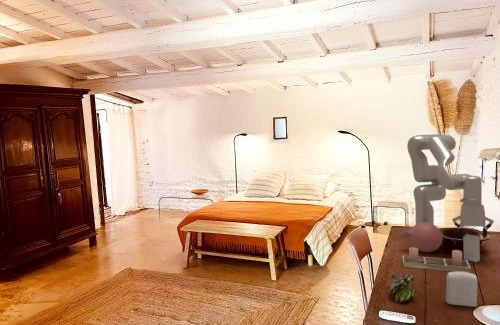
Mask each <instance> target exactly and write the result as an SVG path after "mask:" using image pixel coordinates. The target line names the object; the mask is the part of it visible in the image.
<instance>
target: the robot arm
mask: <svg viewBox="0 0 500 325" xmlns="http://www.w3.org/2000/svg"><path fill="white" fill-rule="evenodd" d="M456 144H457V142H456V139H455V138H454V137H453V136H452V135H447V134H435V133H434V134H433V133H432V134H419V135H414V136H412V137H409V139H408V141H407V152H408V155H409V157H410V162H411V168H412V173H413V174H412V175H413V178H414V181H415V182H416V183H427V184H420V185H417V186H415V187H414V188H413V198H414V205H415V206H414V207H415V208H414V210H415V225H416V224H418V223H422V222H428V223H431V224H433V225H435V224H434V223H435V221H434V220H435V218H434V217H435V216H434V215H435V213H434V211H435V210H434V206H433V205H432V203H431V202H434V201H441V200H444V199H445V198H446V197H447V196H446V195H447V190H449V191H455V190H456V191H457V190H463V192H462V193H463V195H462V196H463V197H462V198H460V199H459V203H462V204H461V206H460V214H459V215H458V216H457V217H454V218H452V219H451V220H452V222H453V224H454V226H455V227H456V228H457V229H458V235H459V237H460V238H463V236H464V235H463V227H482V238H484V239H486V238H487V236H488V230H489V229H490V228H492V226H493V225H494V222H495V221H494V220H493V219H491V218H489V217H487V216H486V211H485V206H484V204H483V203H482V200H483V198H482V189H483V188H482V185H483V184H482V183H483V182H482V178H481V177H480V176H477V175H472V174H468V173H460V174H459V173H458V174H457V173H455V174H450V173H449V171H448V169H447V168H446V167H448V166H449V165H450V164H452V163H453V162H454V161H455V155H454V153H453V152H452V150H454V149H455V148H456ZM423 150H426V151H427V150H429V151H430V152H431V155H432V156H433V157H434V159H435V161H436V162H437V165H435V164H433V165H432V164H431V165H429V163H428V162H429V161H428V157H427V155H426V154H425V153H424V152H423ZM428 183H429V184H428ZM430 183H431V184H430ZM457 221H459V222H460V223H459V224H458V222H457ZM487 222H488V223H487ZM486 223H487V224H486Z"/></svg>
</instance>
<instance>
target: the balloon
mask: <svg viewBox="0 0 500 325" xmlns="http://www.w3.org/2000/svg"><path fill="white" fill-rule="evenodd" d="M400 234H401V235H403V236H404V238H408V239H409V240H410V243H411V244H412V247H416V248H418V251H419V252H420V251H421V252H423V253H432V252H434V251H436V250H438V249H439V247H440V246H441V245H442V243H443V242H442V241H443V236H442V235H443V234H442V232H441V230H440V228H439V227H438V226H436V225H435V224H434V225H433V224H431V223H428V222H422V223H418V224H416V223H415V225H413V227H411V228H410V229H407V230H405V231H400Z"/></svg>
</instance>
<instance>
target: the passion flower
mask: <svg viewBox="0 0 500 325" xmlns="http://www.w3.org/2000/svg"><path fill="white" fill-rule="evenodd" d="M398 275H399V272H395V273H394V274H392V275H391V276H390V278H389V280H391V279H392V280H393V279H395V280H393V282H392V283H390V284H389V287H388V288H389V292H388V293H389V294H394V300H395V302H396V303H398V302H400V303H401V302H404V301H408V300H409V299H410V298H411V297H412V299H413V300H415V297H417V298H418V297H419V294H418V293H417V291H416V290H414V282H415V277H414V275H410V274H409V273H407V274H406V273H405V274H403V275H401V276H399V278H397V277H396V276H398ZM409 276H410V277H409ZM410 282H412V285H411V288H409V286H410ZM402 287H403V288H402Z"/></svg>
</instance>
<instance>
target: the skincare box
mask: <svg viewBox="0 0 500 325" xmlns="http://www.w3.org/2000/svg"><path fill="white" fill-rule="evenodd" d="M462 239H463V240H462V241H463V242H462V243H463V260H467V261H468V262H469V261H470V262H474V263H478V262H480V260H481V254H480V253H481V247H480V246H481V245H480V243H481V242H480V235H475V234H469V233H466V234H465V235H463V237H462Z"/></svg>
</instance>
